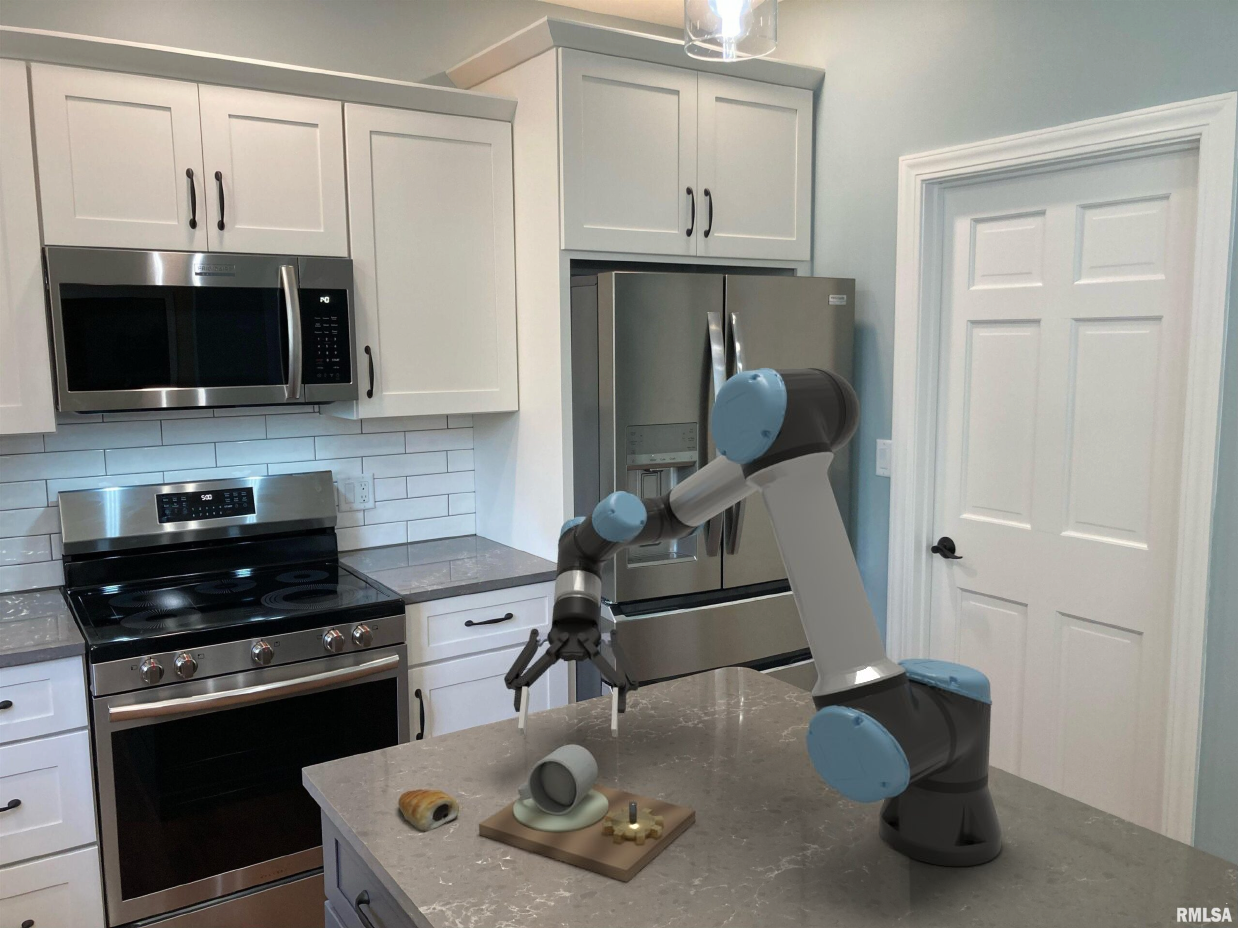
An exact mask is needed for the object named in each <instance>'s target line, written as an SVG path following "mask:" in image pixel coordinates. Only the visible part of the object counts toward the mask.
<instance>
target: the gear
mask: <svg viewBox="0 0 1238 928" xmlns="http://www.w3.org/2000/svg"><path fill="white" fill-rule="evenodd" d="M662 828H664V819H663V817H662V816H652V810H651V809H647V808H644V809H643V810H641V811H637V803H636V802H630V803H629V807H624V808H622V812H621V813H618V814H614V813H611V812H609V813H608V814H606V815H605V823H602V832H603V834H604V836H605V835H613V842H615V843H619V844H621V843H623V842H624V841H625V840H627V841H635V843H636V845H642V844H645V839H647V838H649V837H652V838H655V839H659V838H660V837H661V836H662Z"/></svg>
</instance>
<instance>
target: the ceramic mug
mask: <svg viewBox="0 0 1238 928" xmlns="http://www.w3.org/2000/svg"><path fill="white" fill-rule="evenodd" d="M598 774H599V769H598V764H597V761H596V759H595V757H594V755H593V754H592V752H591V751H590V750H589V749H587V748H586V747H585V746H582V745H579V744H566V745H563V746H560V747H558V748H557V749H555V750H554V751H552V752H551V753H550V754H548V755H545V756H544V758H542V759H540V760H538V761H537V762H536V763H535V764H534V765H533V767H532V768H531V770H530V771H529V774H528V778H527V780H526V782H524V783H522V784H521V785H520V786H519V787H518V789H517V791H518V794H519V798H520V797H521V799H522V800H526V799H531V798H532V800H533V801H534V803H535V804H536V805H537V806H538V807H539V808H540V809H541V810H543V811H545V812H546V813H549V814H552V815H562V814H566V813H568V812H569V811H571V810H572V809H573V808H574V807H575V806H576V805H577V804H578V803H579V802H580V801H581V800H582V798H583V797H584V796H585V795H586V794H587V793H588V792H589V791H590V790H591V789H592V788H593V786H594V784H596V781H597V779H598Z"/></svg>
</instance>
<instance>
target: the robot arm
mask: <svg viewBox="0 0 1238 928" xmlns="http://www.w3.org/2000/svg"><path fill="white" fill-rule="evenodd" d="M715 397H716V398H715V402H714V403H713V404H712V408H711V413H710V423H709V424H710V432H711V437H712V441H713V443H714V444H713V445H715V447H716V449H717V451H718V452H719V453H720V456H718V457H716V458H715V459H713V460H712V461H710V462H709V463H708V464H706V465H704V466H703V467H702V468H700V469H699V470H697V471H696V472H695V473H692V474H691V475H689V476H688V477H687V478H686V479H684V480H683V481H681V482H680V483H678V484H676V485H675V486H674V487H673V488H672V489H669V490H668V491H667V492H665V493H664V494H662V495H659V496H658V495H657V496H652V497H650V496H649V497H644V498H639V497H637V496H636V495H635V494H634V493H630V492H629V493H628V492H627V491H623V490H619V491H614V492H612V493H610V494H609V495H607V497H606V498H604V499H602V500H601V501H600V502H599V503H597V505H596V506H595V507H594V509H593V510H591V512H590V513H588V515H586V516H576V517H574V518H573V519H568V520H566V521H564V523H563V524H562V526H561V529H560V533H559V534H560V535H559V538H558V540H557V541H558V542H557V561H556V562H557V563H556V573H555V574H556V575H555V576H556V577H555V583H554V584H555V585H554V595H553V596H554V597H553V603H554V604H553V606H552V617H551V618H552V619H551V627H550V630H549V631H548V632H543V631H542V632H541V631H539V629H538V628H532V629H531V630H530V633H529V638H528V641H527V643H525V646H524V647H523V648H522V651H520V653H519V655H518V656H517V658H516V659H515V661H514V663H513V664H512V665H511V667H510V668H509V670H508V672H507V673H506V674H505V676H504V679H503V680H504V684H505V688H506V689H508V690H513V691H514V698H513V708H514V710H515V713H519V716H518V726H517V729H518V731H519V735H520V736H526V733H527V724H528V715H529V714H528V713H529V704H530V691H529V688H530V687H531V686H532V685H534V683H536V681H538V679H540V677H541V676H542V675H544V673H546V672H547V671H548V670H549V668H551V667H552V666H553V665H555V664H557V663H558V662H559V660H563V662H572V661H575V662H584V661H585V660H588V661H590V662H591V663H592V665H594V666H595V667H596V668H597V669H598V670H599V672H600V673H601V674H602V675H603V676H604V677H605V679H606V680H607V681H608V682H609V683H610V684H611V685H612V686H613V687H612V703H611V704H612V705H611V708H612V709H611V723H610V724H611V725H610V726H611V735H612V736H611V737H614V738H617V737H618V733H619V732H618V730H619V729H618V727H619V714H625V713H626V711H627V694H628V693H629V692H632V691H634V692H636V691H638V690H639V679H638V677H637V675H636V673H635V670H634V668H633V667H632V665H631V662H630V661H629V659H628V657H627V655H626V653H625V651H624V650H623V648H622V645H621V644H620V642H619V640H620V639H619V632H618V630H617V629H615V628H613V629H611V630H610V632H604V633H601V630H600V621H601V620H600V619H601V617H600V615H601V609H600V608H601V607H600V606H601V603H602V602H601V600H602V581H603V580H602V578H603V567H604V564H606V563H607V562H608V561H609V560H610V559H612V558H613V557H614V556H615V555H616V554H617V553H618V552H619V551H620V550H623V549H626V548H631V547H638V546H645V545H649V544H655V543H661V542H668V541H673V540H675V541H676V540H684V539H687V538H689V537H693V536H696V535H698V534H699V533H701V532H702V531H703V529H704V526H705V525H706V523H707V521H709V520H711V519H712V518H713V517H715V516H717V515H718V514H720V513H722V512H724V511H725V510H726V509H729V508H731V507H732V506H733V505H735V504H736V503H738V502H739V501H742V500H743V499H745V498H746V497H748V496H750V495H751V494H753V493H754V492H756V491H758V492H759V493H760V494H761V496H762V498H763V499H762V500H763V502H764V506H765V509H766V513H767V516H768V518H769V519H768V520H769V521H770V524H771V528H772V531H773V534H774V537H775V540H776V541H775V542H776V544H777V547H778V550H779V553H780V556H781V557H780V558H781V560H782V563H783V566H784V570H785V573H786V576H787V579H788V582H789V586H790V588H791V589H790V590H791V592H792V595H793V598H794V602H795V604H796V609H797V611H798V614H799V616H800V617H799V618H800V621H801V624H802V627H803V631H804V633H805V637H806V639H807V644H808V646H809V650H810V653H811V655H812V659H813V662H814V665H815V668H816V672H817V676H818V677H817V681H816V682H815V685H814V687H813V689H812V691H811V698H812V700H813V704H814V707H815V711H816V713H815V714H814V716H813V717H812V718H811V719H810V721H809V723H808V730H807V731H806V736H805V741H806V742H805V743H806V749H807V752H808V756H809V760H810V761H811V763H812V766H813V767H814V768H815V770H816V772H817V773H818V775H819V776H820V778H821V779H822V780H823V782H824V783H826V784H827V786H828V787H829V788H831V789H834V790H836V791H837V793H838V794H839V795H841V797H843V798H845V799H848V800H850V801H853V802H857V803H863V804H869V803H875V802H879V801H882V805H881V807H880V810H879V814H878V815H879V819H878V820H879V821H878V830H879V835H880V837H881V839H882V840H883V841H884V842H885V844H886V845H888V846H889V847H890V848H892V849H893V850H894V851H896V852H898V853H900V854H902V855H903V856H906V857H909V858H911V859H914V860H916V861H920V862H924V863H927V864H931V865H937V866H945V867H946V866H947V867H970V866H977V865H980V864H985V863H987V862H989V861H992V860H993V859H995V858H996V857H997V856H998V855H999V853H1000V852H1001V850H1002V827H1001V823H1000V820H999V817H998V814H997V810H996V807H995V805H994V801H993V798H992V794H991V791H990V789H989V769H990V768H989V767H990V739H991V720H992V719H991V715H992V714H991V713H992V709H991V708H992V706H993V701H992V699H991V698H992V697H991V693H992V692H991V682H990V680H989V678H988V677H987V675H986V674H984V673H983V672H982V671H980V670H979V669H975V668H973V667H970V666H968V665H964V664H960V663H955V662H951V661H946V660H938V659H930V658H907V659H906V658H905V659H902V660H900V661H899V662H894V661H892V659H890V658H889V657H888V655H887V652H886V649H885V646H884V643H883V640H882V636H881V633H880V631H879V628H878V625H877V622H876V619H875V616H874V613H873V610H872V607H871V604H870V601H869V597H868V594H867V592H866V589H865V586H864V582H863V579H862V577H861V573H860V570H859V566H858V564H857V562H856V561H857V560H856V558H855V555H854V553H853V549H852V546H851V543H850V540H849V537H848V534H847V530H846V527H845V525H844V522H843V519H842V516H841V512H840V510H839V507H838V503H837V500H836V497H835V494H834V492H833V491H834V490H833V489H832V486H831V483H830V480H829V476H828V469H829V467H830V465H831V463H832V461H833V459H834V457H835V455H834V453H835V452H836V451H839V450H840V449H841V448H843V447H844V446H845V445H847V444H848V443H849V442H850V440H851V439H852V437H854V435H855V433H856V431H857V430H858V429H857V428H858V426H859V424H860V423H859V422H860V419H861V417H860V416H861V415H860V414H861V409H860V408H861V407H860V401H859V399H858V396H857V393H856V391H855V390H854V388H853V387H852V385H851V384H850V383H849V382H848V381H847V380H846V379H845V378H844V377H842V376H841V375H840V374H838V373H836V372H835V371H832V370H829V369H824V368H819V367H817V368H813V367H812V368H811V367H810V368H769V367H763V368H762V367H760V368H757V369H755V370H744V371H740V372H738V373H736V374H734V375H733V376H731V377H730V378H728V380H726V381H725V382H724V383H723V384H722V385H721V387H720V389H719V390H718V392H717V394H716V396H715ZM546 642H548V644H549V647H547V649H546V650H545V652H544V653H542V655H541V656H540V657H539V658H538V659H537V660H536V661H535V662H534V663H533V664H532V665H531V666H530V667H529V668H528V666H529V665H530V662H531V661H532V660H533V659H534V656H535V655H536V653H537V652H538V649H539V648H541V647H542V646H543V645H544V643H546ZM602 643H605V645H606V647H607V648H611V650H612V655H613V656H614V658H615V660H616V662H617V664H618V666H619V668H620V670H621V672H622V674H623V676H624V678H625V679H623V677H622V676H621V674H619V673H618V672H617V671H616V669H615V668H614V667H613V666H612V665H611V664H610V662H608V661H607V659H606V658H605V657H604V655H602V654H601V652H600V651H599V649H598V647H599V646H600V645H601V644H602ZM527 668H528V669H527ZM526 669H527V670H526Z"/></svg>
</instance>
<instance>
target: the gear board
mask: <svg viewBox="0 0 1238 928" xmlns="http://www.w3.org/2000/svg"><path fill="white" fill-rule="evenodd" d="M630 802H636V803H637V811H641V810H643V809H644V808H647V809H651V810H652V816H662V817H663V819H664V828H662V836H661V837H660V838H659V839H655V838H652V837H649V838H647V839H645V844H642V845H636V843H635V841H627V840H625V841H624V842H623V843H621V844H619V843H615V842H613V835H605V836H604V834H603V832H602V823H605V815H606V814H608V813H609V812H611V813H614V814H618V813H621V812H622V808H624V807H629V803H630ZM694 821H695V822H696V809H693V808H688V807H684V806H681V805H677V804H673V803H669V802H667V801H662V800H658V799H655V798H650V797H647V796H644V795H639V794H635V793H632V792H628V791H624V790H620V789H617V788H612V787H608V786H604V785H601V784H597V783H595V784H594V786H593V788H592V789H591V790H590V791H589V792H588V793H587V794H586V795H585V796H584V797H583V798H582V800H581V801H580V802H579V803H578V804H577V805H576V806H575V807H574V808H573V809H572V810H571V811H569V812H568V813H566V814H562V815H552V814H549V813H546V812H545V811H543V810H541V809H540V808H539V807H538V806H537V805H536V804H535V803H534V801H533V800H532V798H531V799H526V800H522V799H521V797H520V796H519V797H518V799H516V800H514V801H513V802H511V803H509V804H508V805H506V806H505V807H503V808H502V809H500V810H498V811H497V812H495V813H494V814H492V815H490V816H489V817H488V818H486V819H484V820H483V821H480V823H478V835H479V836H482V837H485V838H489V839H491V840H494V841H497V842H501V843H504V844H506V845H510V846H513V847H516V848H520V849H522V850H525V851H529V852H531V853H535V854H538V855H541V856H544V857H547V856H548V857H547V858H550V857H551V859H553V858H555V859H554V860H556V861H559V860H560V861H559V862H562V861H564V862H563V863H566V864H569V863H570V864H569V865H572V864H573V865H572V866H575V865H577V866H576V867H578V866H579V867H578V868H582V869H585V870H587V869H588V871H590V870H592V871H591V872H594V873H597V874H600V875H602V876H603V875H604V876H606V877H609V878H612V879H616V880H620V881H622V882H625V883H628V882H629V881H630V880H631V879H633V877H635V876H636V875H637V874H638V873H640V872H641V870H642V869H644V868H645V867H646V866H647V865H648V864H649V863H651V861H653V859H655V858H656V857H657V856H658V855H659V854H661V853H662V851H664V850H665V849H666V848H667V847H668V846H669V845H670V844H672V842H673V841H675V840H676V839H678V837H679V836H681V834H683V833H684V832H685V831H686V830H687V829H688V828H690V826H692V825H693V824H694V823H695V822H694ZM693 822H694V823H693ZM686 828H687V829H686ZM685 829H686V830H685ZM684 830H685V831H684ZM683 831H684V832H683Z"/></svg>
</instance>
